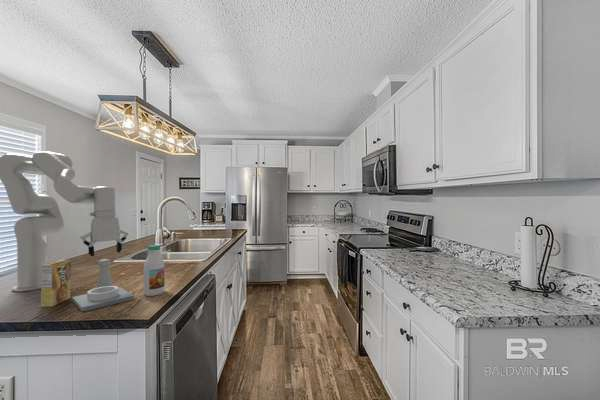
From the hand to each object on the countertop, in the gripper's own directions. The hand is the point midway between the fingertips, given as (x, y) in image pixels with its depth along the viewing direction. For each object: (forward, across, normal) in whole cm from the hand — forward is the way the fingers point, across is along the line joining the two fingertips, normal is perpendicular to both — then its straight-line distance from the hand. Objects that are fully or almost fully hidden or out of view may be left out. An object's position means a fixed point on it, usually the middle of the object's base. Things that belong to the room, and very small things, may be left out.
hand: (105, 254), depth 117 cm
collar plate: (+16, -5, -14) cm, 22 cm away
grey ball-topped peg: (+16, -1, +1) cm, 16 cm away
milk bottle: (+16, +11, -21) cm, 29 cm away
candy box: (+16, -17, -4) cm, 23 cm away
